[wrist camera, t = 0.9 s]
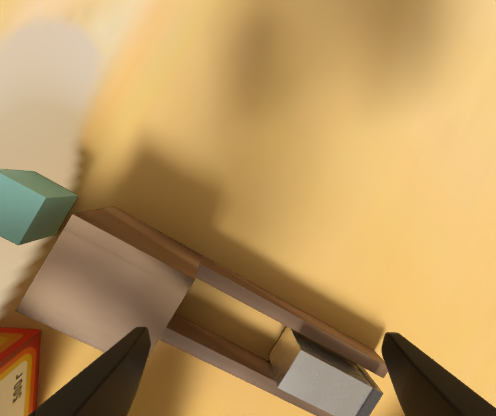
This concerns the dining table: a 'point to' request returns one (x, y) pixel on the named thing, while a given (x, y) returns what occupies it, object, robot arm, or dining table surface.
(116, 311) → the housing
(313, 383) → the grey rectangular block
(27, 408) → the baking soda box
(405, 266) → the dining table surface
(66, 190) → the teal cube block
